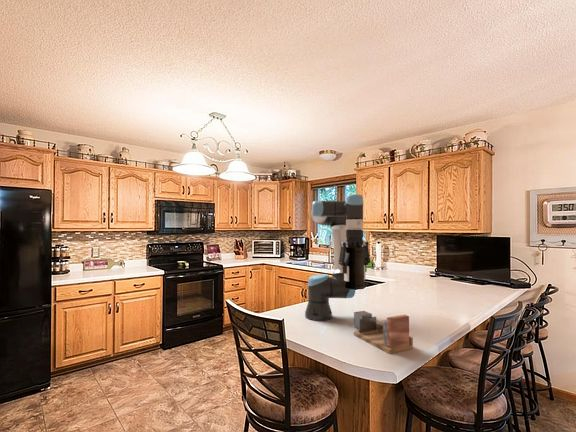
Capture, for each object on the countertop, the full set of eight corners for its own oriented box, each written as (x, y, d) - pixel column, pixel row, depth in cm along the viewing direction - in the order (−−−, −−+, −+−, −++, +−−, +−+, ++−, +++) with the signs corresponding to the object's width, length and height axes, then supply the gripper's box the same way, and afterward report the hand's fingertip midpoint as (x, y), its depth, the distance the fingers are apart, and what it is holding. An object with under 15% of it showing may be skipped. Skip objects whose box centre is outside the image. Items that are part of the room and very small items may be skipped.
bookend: (350, 328, 150) (350, 312, 150) (367, 325, 154) (366, 310, 154) (359, 332, 144) (359, 316, 144) (376, 329, 148) (376, 313, 148)
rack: (353, 335, 145) (353, 306, 145) (375, 331, 151) (375, 303, 151) (389, 353, 124) (389, 320, 125) (412, 348, 130) (412, 316, 130)
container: (362, 285, 142) (362, 246, 142) (367, 289, 133) (367, 247, 133) (342, 285, 142) (342, 246, 142) (346, 289, 133) (346, 247, 133)
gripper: (339, 229, 130) (339, 283, 130) (378, 229, 139) (379, 279, 138) (330, 229, 137) (330, 280, 137) (368, 228, 146) (368, 277, 145)
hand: (354, 280), depth 138 cm, fingers closed on container, 8 cm apart
